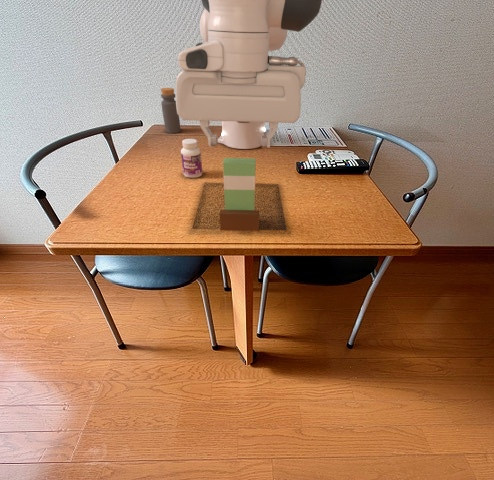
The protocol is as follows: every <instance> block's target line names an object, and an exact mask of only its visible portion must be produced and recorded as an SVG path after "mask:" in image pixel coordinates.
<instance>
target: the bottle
mask: <svg viewBox="0 0 494 480" xmlns="http://www.w3.org/2000/svg"><path fill="white" fill-rule="evenodd" d="M160 92H161V94H160V97H161V99H162V101H161V102H160V104H161V110H162V117H163V124H164V129H165V130H164V131H165V133H167V134H177V133H180V132H181V130H182V129H181V121H180V116H179V115H178V114H177V109H176V93H175V88H173V87H163V88H162V87H161V88H160Z"/></svg>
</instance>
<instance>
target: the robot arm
mask: <svg viewBox="0 0 494 480" xmlns="http://www.w3.org/2000/svg"><path fill="white" fill-rule="evenodd" d="M322 2H323V0H201V3H202V4H201V5H202V7H203V8H204V10H203V11H202V13H201V14H200V15H201V16H200V20H199V33H200V38H201V39H202V41H203V42H199V43H196V44H195V45H194V46H191V47H188V48H185V49H183V50H182V51H181V52H179V53H178V57H177V61H178V66H179V68H180V69H181V70H180V72H179V73H178V75H177V76H176V79H175V101H176V109H177V114H178V115H179V119H181V120H182V121H199V126H200V129H201V130H202V132H203V134H204V135H205V137H206V138H207V144H208V147H210V148H211V147H212V148H213V147H218V144H221V145H225V146H226V147H228V148H232V149H237V150H238V149H239V150H251V149H257V148H260V147H261V149H270V148H271V140H272V138H273V137H274V135H275V134H276V132H277V131H278V128H279V124H280V123H281V124H282V123H283V124H295V123H296V122H297V121H298V120H299V119H300V117H301V106H302V105H301V103H302V102H301V101H302V93H301V90H302V89H303V87H304V86H305V82H306V75H307V67H306V66H305V64H304V62H302V61H301V60H299V58H298V57H296V56H295V57H294V56H288V57H285V56H277V55H276V56H273V55H269V52H273V51H277V50H280V49H281V48H283V45H284V44H285V42H286V40H287V37H288V33H289V31H290V32H291V31H292V32H298V33H299V32H301V31H302V30H304V29H305V28H306V27H308V26H309V25H310V24H311V23H312V22H313V21H314V20H315V19H316V18H317V16H318V15H319V13H320V11H321V7H322ZM211 122H221V135H220V136H219V137H218V134H217V133H213V132H212V131H211V128H210V124H211ZM266 123H268V128H269V130H268V131H267V133H265V132H266Z"/></svg>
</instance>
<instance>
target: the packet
mask: <svg viewBox="0 0 494 480" xmlns="http://www.w3.org/2000/svg"><path fill="white" fill-rule="evenodd" d="M256 161H257V160H256V158H255V157H253V158H251V157H223V162H222V167H223V168H222V169H223V172H222V173H223V184H224V186H223V187H224V190H223V191H224V193H223V194H224V197H225V198H224V200H225V202H224V203H225V206H224V210H255V206H254V203H256V198H255V195H256V193H255V191H256V188H255V187H256V185H255V184H256V168H257V167H256V166H257V163H256Z"/></svg>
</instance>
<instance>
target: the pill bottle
mask: <svg viewBox="0 0 494 480" xmlns="http://www.w3.org/2000/svg"><path fill="white" fill-rule="evenodd" d="M181 144H182V148H181V149H180V157H181V165H182V174H183V176H184V177H186V178H188V179H197V178H200V177H201V176H202V175H203V165H202V162H203V161H202V151H201V148H200V147H198V140H197V139H196V138H185V139H182V141H181Z"/></svg>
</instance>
